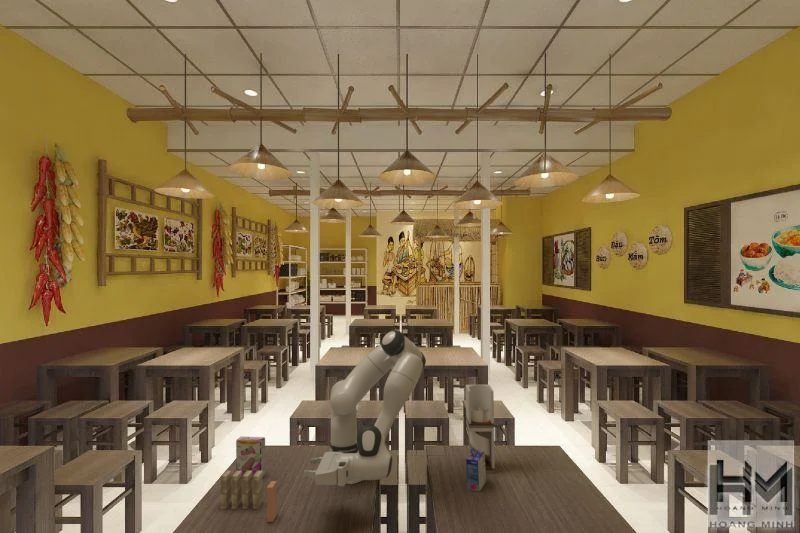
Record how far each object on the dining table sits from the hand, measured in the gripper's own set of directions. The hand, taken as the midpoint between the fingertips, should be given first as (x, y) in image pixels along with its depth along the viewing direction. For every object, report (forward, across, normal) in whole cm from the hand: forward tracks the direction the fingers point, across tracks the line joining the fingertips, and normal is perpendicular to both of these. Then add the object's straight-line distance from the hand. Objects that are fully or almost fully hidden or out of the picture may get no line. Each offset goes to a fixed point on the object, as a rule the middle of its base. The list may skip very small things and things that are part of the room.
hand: (306, 467), depth 169 cm
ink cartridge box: (-63, -25, +19) cm, 70 cm away
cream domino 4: (+21, -10, +18) cm, 29 cm away
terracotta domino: (+13, 0, +18) cm, 22 cm away
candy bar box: (+32, -34, +18) cm, 50 cm away
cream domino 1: (+33, -10, +18) cm, 39 cm away
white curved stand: (-67, -42, +19) cm, 81 cm away
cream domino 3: (+25, -10, +18) cm, 32 cm away
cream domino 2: (+29, -10, +18) cm, 35 cm away
